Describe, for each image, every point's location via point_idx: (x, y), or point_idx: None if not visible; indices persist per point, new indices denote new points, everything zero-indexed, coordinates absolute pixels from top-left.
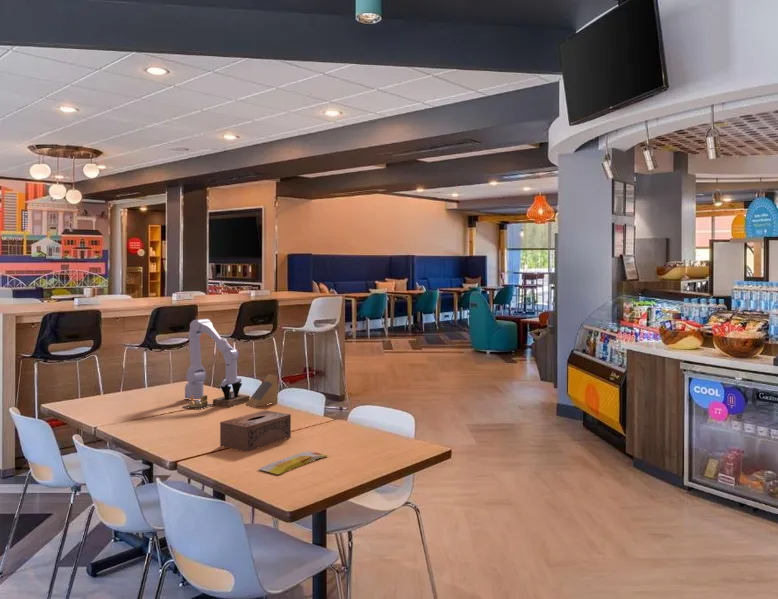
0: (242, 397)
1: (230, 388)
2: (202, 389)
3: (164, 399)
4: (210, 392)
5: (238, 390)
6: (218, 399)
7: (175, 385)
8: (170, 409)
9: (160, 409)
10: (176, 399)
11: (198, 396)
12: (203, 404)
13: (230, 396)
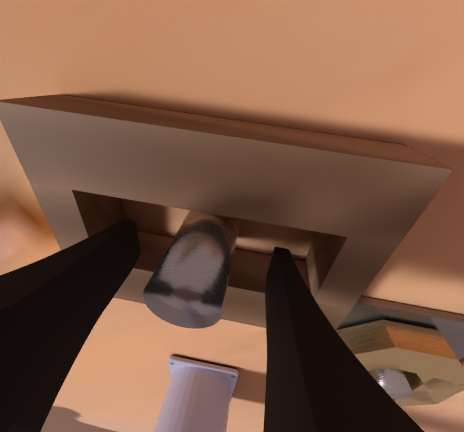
0: (128, 135)
1: (314, 396)
2: (181, 427)
3: (248, 423)
4: (75, 364)
5: (60, 261)
6: (323, 312)
7: (87, 419)
8: (448, 404)
9: (442, 422)
10: (235, 407)
11: (216, 390)
12: (439, 343)
13: (230, 261)
